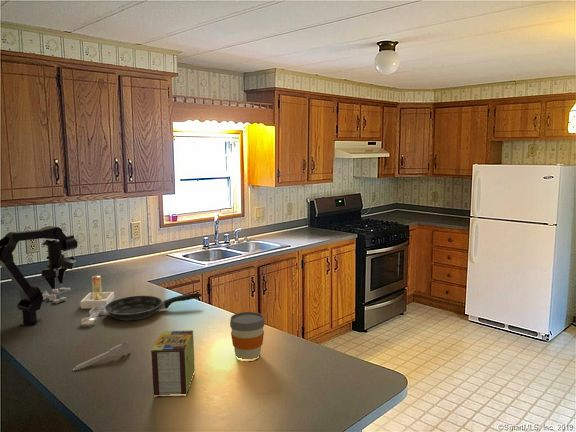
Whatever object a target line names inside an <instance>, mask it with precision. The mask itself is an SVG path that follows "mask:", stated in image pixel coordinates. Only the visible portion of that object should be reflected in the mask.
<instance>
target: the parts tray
mask: <svg viewBox="0 0 576 432" xmlns="http://www.w3.org/2000/svg"><path fill="white" fill-rule="evenodd" d="M114 299H115V292H114V291H106V292H105V291H102V300H95V301H93V292H89V293H88V294H86V296H85V297H83V298H82V300H80V309H92V308H93V307H94V306H106V305H107V304H109V303H110V302H112V301H114Z"/></svg>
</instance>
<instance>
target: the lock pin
mask: <svg viewBox="0 0 576 432" xmlns="http://www.w3.org/2000/svg"><path fill="white" fill-rule="evenodd" d="M91 283H92V293H93V301H95V300H102V292H103V291H102V290H103V289H102V276H101V274H100V275H99V274H98V275H92V276H91Z"/></svg>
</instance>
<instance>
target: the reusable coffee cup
mask: <svg viewBox="0 0 576 432" xmlns="http://www.w3.org/2000/svg"><path fill="white" fill-rule="evenodd" d="M265 324H266V323H265V317H264V315H263V314H262V313H259V312H256V311H255V312H254V311H243V312H237V313H234V314H232V315H231V316H230V322H229V326H230V328H231V331H230V336H231V341H232V346H233V347H234V354H235V357H236V356H237V357H238V358H242V359H253V358H257V357H258V356H259V355H260V356H261V352H262V346H263V344H264V333H265V331H264V327H265Z"/></svg>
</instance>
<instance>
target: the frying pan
mask: <svg viewBox="0 0 576 432" xmlns="http://www.w3.org/2000/svg"><path fill="white" fill-rule="evenodd" d="M202 295H203V294H202V293H199V292H198V293H187V294H182V295H178V296H174V297H171V298H169V299H164V300H162V299H161V298H159V297H157V296H152V295H133V296H126V297H122V298H119V299H115V300H113V301H112V302H110V303H109V304H107V305H106V307H105V309H106V311H107V313H108V315H110V317H112V318H114V319H117V320H120V321H137V320H143V319H147V318H149V317H151V316H153V315H154V314H155V313H157V311H162V310H164V309H165V310H166V309H169V308H170V306H171V305H172V304H174V303H177V302H184V301H189V300H193V299H197V298H199V297H202Z"/></svg>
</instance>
